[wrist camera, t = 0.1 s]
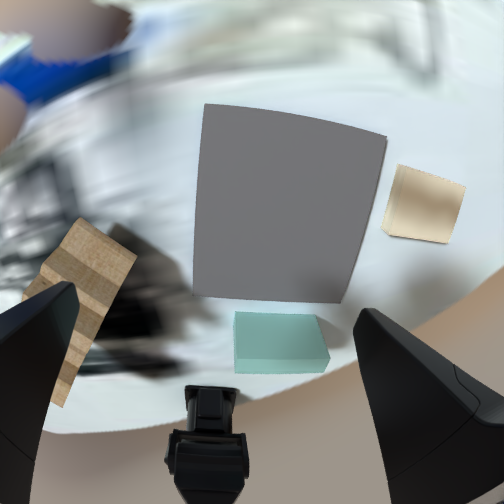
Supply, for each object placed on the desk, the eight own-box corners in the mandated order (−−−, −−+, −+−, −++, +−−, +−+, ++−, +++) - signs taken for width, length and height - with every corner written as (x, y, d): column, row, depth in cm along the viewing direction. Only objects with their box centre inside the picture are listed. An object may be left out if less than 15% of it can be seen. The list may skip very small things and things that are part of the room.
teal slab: (309, 328, 28) (323, 372, 23) (233, 326, 27) (234, 373, 22) (314, 314, 28) (330, 358, 22) (235, 311, 27) (236, 358, 21)
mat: (338, 299, 27) (340, 303, 26) (193, 291, 25) (192, 295, 25) (383, 135, 19) (386, 136, 19) (205, 103, 18) (204, 103, 17)
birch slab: (437, 235, 25) (448, 243, 23) (378, 225, 24) (388, 234, 22) (453, 181, 22) (466, 187, 20) (394, 162, 21) (406, 167, 19)
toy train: (146, 240, 22) (104, 319, 14) (88, 344, 28) (61, 411, 19) (94, 205, 21) (27, 266, 12) (51, 320, 26) (15, 382, 17)
